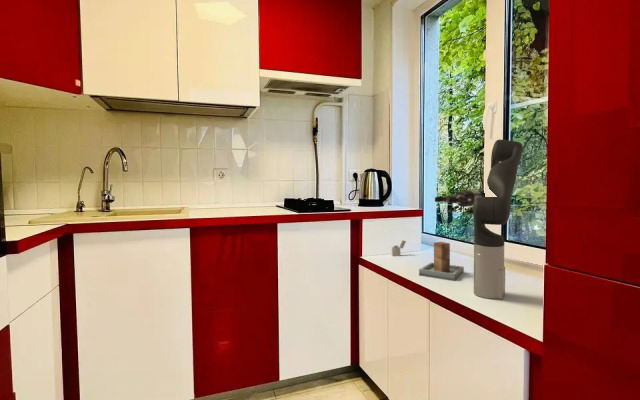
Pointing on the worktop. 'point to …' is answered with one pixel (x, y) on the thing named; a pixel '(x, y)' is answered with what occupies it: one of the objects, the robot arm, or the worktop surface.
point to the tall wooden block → (442, 257)
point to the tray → (452, 275)
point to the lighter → (397, 249)
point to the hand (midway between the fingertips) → (442, 199)
